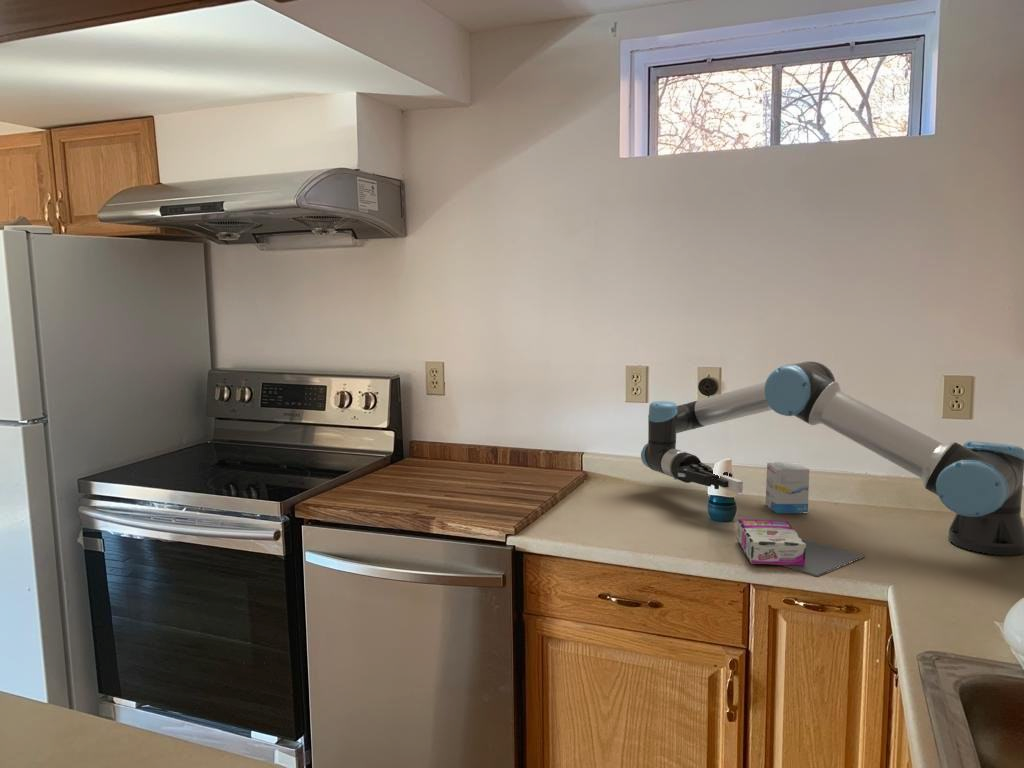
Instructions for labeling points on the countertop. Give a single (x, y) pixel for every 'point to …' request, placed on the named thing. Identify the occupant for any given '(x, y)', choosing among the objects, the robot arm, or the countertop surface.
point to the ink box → (787, 487)
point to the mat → (822, 558)
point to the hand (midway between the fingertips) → (739, 487)
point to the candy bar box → (771, 542)
